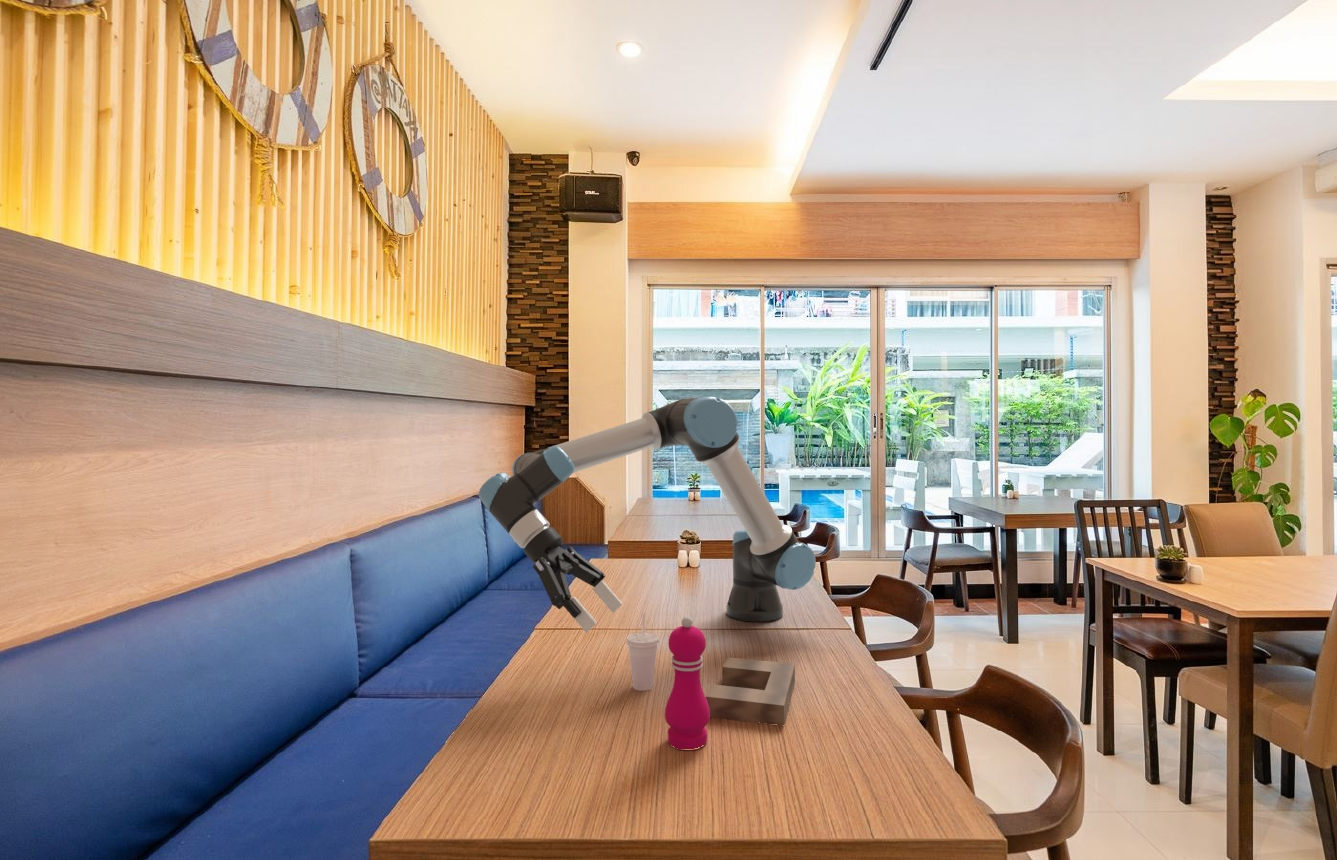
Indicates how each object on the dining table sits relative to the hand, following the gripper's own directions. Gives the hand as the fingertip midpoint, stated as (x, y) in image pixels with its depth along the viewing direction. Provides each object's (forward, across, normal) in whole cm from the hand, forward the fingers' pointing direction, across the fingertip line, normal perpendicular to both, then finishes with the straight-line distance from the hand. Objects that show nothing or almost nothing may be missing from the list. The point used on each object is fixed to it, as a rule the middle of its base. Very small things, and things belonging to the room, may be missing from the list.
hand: (605, 617), depth 126 cm
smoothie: (+15, -1, -4) cm, 15 cm away
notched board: (+30, -2, +11) cm, 32 cm away
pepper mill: (+24, +18, +6) cm, 31 cm away
